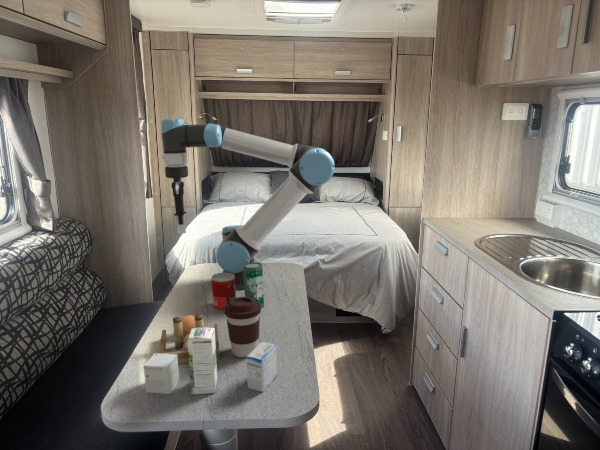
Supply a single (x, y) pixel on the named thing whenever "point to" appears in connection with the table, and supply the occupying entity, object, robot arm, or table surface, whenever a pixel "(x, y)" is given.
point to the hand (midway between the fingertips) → (181, 232)
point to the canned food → (223, 289)
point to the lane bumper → (183, 355)
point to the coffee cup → (243, 325)
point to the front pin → (185, 342)
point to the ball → (188, 324)
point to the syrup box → (202, 360)
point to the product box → (161, 373)
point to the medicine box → (261, 366)
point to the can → (254, 281)
